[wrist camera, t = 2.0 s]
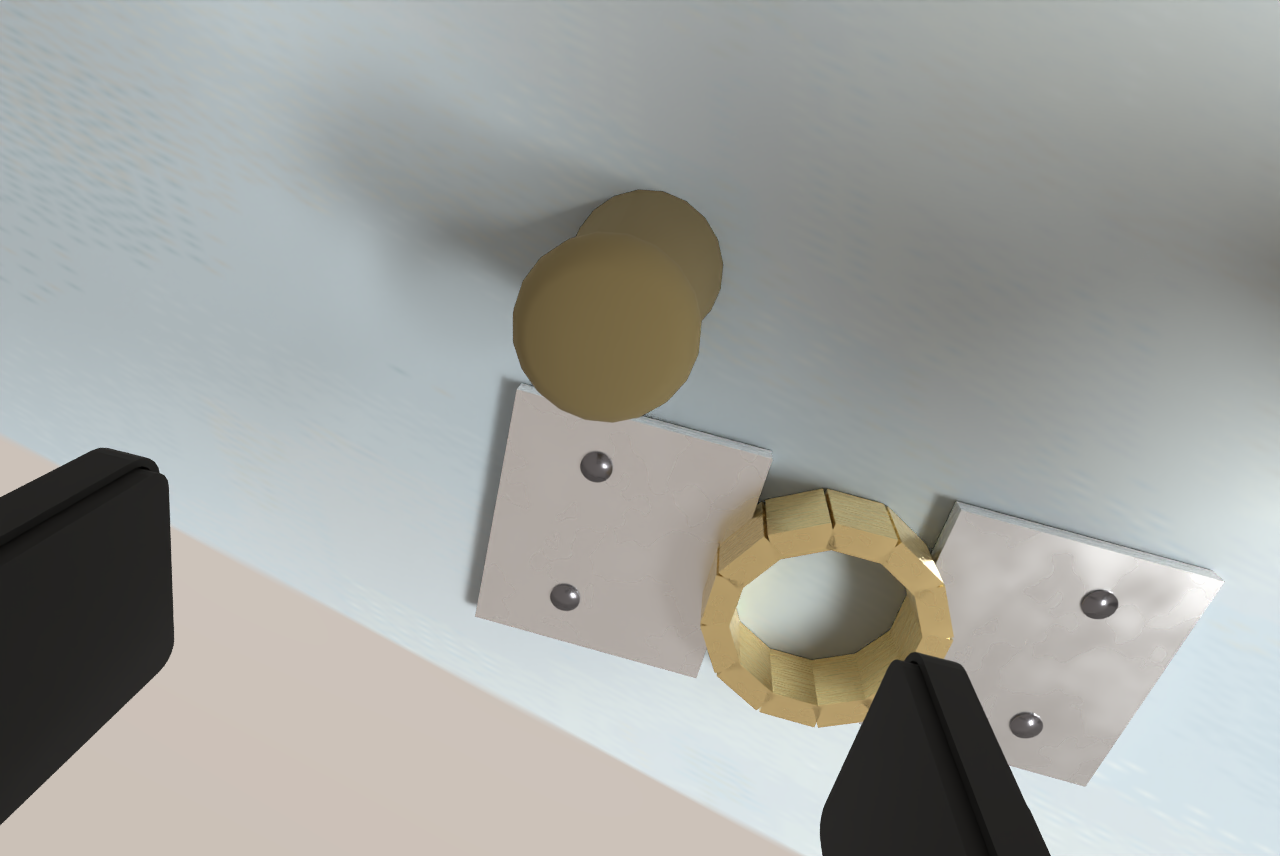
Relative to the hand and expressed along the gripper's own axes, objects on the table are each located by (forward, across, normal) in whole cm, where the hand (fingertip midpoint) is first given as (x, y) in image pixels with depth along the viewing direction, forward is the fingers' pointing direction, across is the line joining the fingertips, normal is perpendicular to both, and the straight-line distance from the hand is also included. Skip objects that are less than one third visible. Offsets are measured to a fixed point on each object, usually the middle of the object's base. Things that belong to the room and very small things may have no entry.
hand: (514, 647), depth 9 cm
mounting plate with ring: (+21, -10, +11) cm, 26 cm away
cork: (+22, +1, -1) cm, 22 cm away
